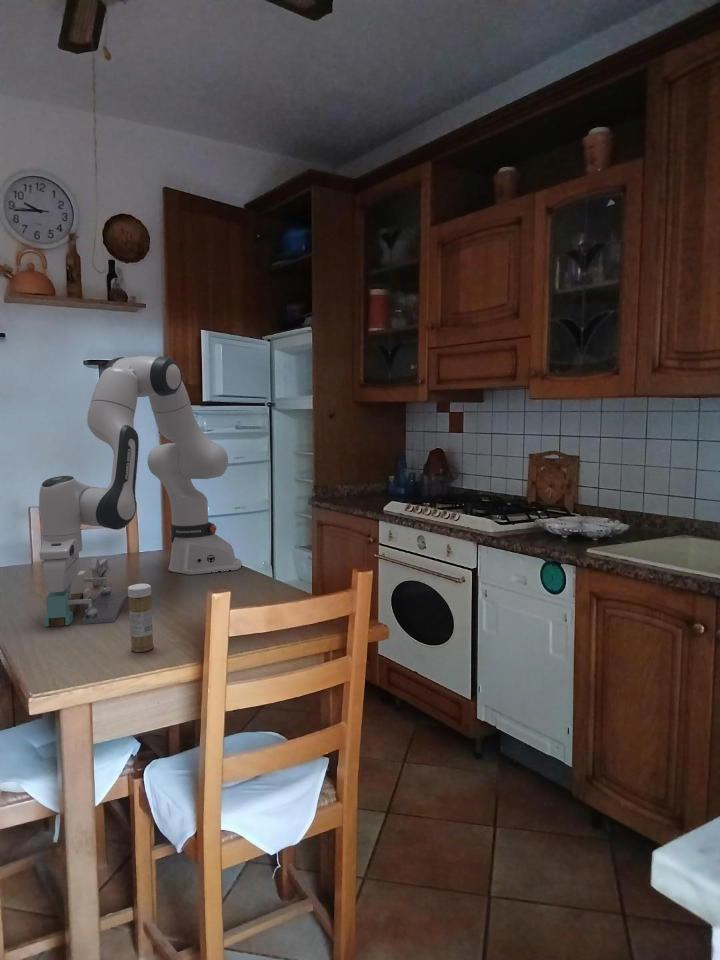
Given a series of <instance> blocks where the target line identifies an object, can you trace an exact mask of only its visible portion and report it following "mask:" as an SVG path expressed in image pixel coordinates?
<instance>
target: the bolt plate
mask: <svg viewBox="0 0 720 960" xmlns="http://www.w3.org/2000/svg"><path fill="white" fill-rule="evenodd" d="M128 597H129V596H128V590H122V591H112V587H111V586H107V587H104V586H100V588H99V594H98V596H96V599H95V600H94V602H92V609H91V610H89V609H88V608H85V610H84V612H85V615H84V616H83V618H82V625H91V623H94V624H105V623H107V622H108V623H115V621H116V620H117V618H118V616H119V614H120V612H121V610H122V608H123V606H124V604H125V602H126V600H127V598H128Z"/></svg>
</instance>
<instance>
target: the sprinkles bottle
mask: <svg viewBox="0 0 720 960" xmlns="http://www.w3.org/2000/svg"><path fill="white" fill-rule="evenodd" d="M127 591H128V596H127V597H128V600H129V601H128V602H129V603H128V605H129V612H128V613H129V626H130V628H129V629H130V632H129V633H130V641H131V647H130V649H131V651H132V652H134V653H144V652H149V651H150V650H152V649H154V637H153V636H154V635H153V633H154V631H153V630H154V628H153V611H152V610H153V609H152V600H151V596H152V586H151V585H150V584H148V583H137V584H132V585H130V586H128V587H127Z"/></svg>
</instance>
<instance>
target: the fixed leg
mask: <svg viewBox="0 0 720 960" xmlns="http://www.w3.org/2000/svg"><path fill="white" fill-rule="evenodd" d="M107 580H108V578H107V577H100V578H93V577H90V578H88V577H87V571H86V570H80V571H79V573H78V574H77V575H76V577H75V578H74V579H73V580H72V586H71V594H79V593H83V599H90V597H91V594H90V588H88V586H87V585H88V584H87V583H92V582H98V581H100V582H103V587H107V585H108V582H107Z"/></svg>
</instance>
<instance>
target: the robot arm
mask: <svg viewBox="0 0 720 960" xmlns="http://www.w3.org/2000/svg"><path fill="white" fill-rule="evenodd" d="M182 378H183V374H182V371H181V367H180V366H179V364H178V363H177V362H176V361H175V360H174V359H172V358H170V357H165V356H151V355H150V356H149V355H138V356H128V357H123V356H120V357H115V358H112V359H111V360H109V361H108V362H107V363H106V365H105V366H104V368H103V371H102V373H101V375H100V377H99V378H98V381H97V382H96V385H95V387H94V391H93V392H92V396H91V399H90V403H89V407H88V412H87V419H86V421H87V426H88V428H89V430H90V432H91V434H93V436H95V437H96V438H98V439H99V440H100V441H102V442H104V443H106V444H107V445H109V446H110V448H111V449H112V453H113V461H112V462H113V463H112V468H111V469H112V471H111V480H110V484H109V485H108V486H107V487H100V486H99V487H97V486H90V485H86V484H84V483H81V482H79V481H78V480H76V478H75V477H74V476H72V475H58V476H54V477H50V478H48V479H46V480H44V481H43V482H42V483H41V484H40V485H41V486H40V489H39V494H38V499H39V500H38V507H39V509H38V511H39V517H40V520H41V523H42V525H41V526H42V527H41V531H40V537H41V539H40V540H41V547H40V549H39V560H40V561H42V569H43V579H44V584H45V585H44V586H45V588H46V591H47V593H48V594H49V593H52V592H66V591H69V600H70V598H71V586H72V580H73V579H74V578H75V577H76V575H77V574H78V573H79V571H81V562H80V561H81V560H80V554H79V552H81V551H82V550H83V538H82V537H83V536H82V528H81V526H82V525H85V526H89V527H90V526H92V527H102V528H106V529H111V530H122V529H123V528H125V527H127V526H128V525H129V524H130V523H131V522H132V520H133V519H134V517H135V515H136V511H137V498H136V485H137V484H136V482H137V473H138V463H139V448H140V446H139V445H140V439H139V434H138V432H137V430H136V429H135V425H134V424H135V423H134V421H135V420H134V419H135V414H136V410H137V404H138V398H144V397H148V399H149V403H150V407H151V411H152V414H153V416H154V419H155V422H156V428H157V430H158V432H159V433H160V434H161V435H162V437H163V438H165V439H167V440H170V441H171V443H170V442H168V443H164V444H163V443H162V444H159V445H155V446H153V447H152V448H151V449H150V451H149V452H148V455H147V466H148V469H149V471H150V472H151V474H152V475H153V476H155V477H156V478H157V479H158V481H160V482H161V484H162V485H163V487H164V488H165V490H166V493H167V496H168V499H169V504H170V513H171V523H170V529H169V532H170V533H169V534H170V542H171V554H170V559H169V564H168V568H167V570H168V571H170V572H172V573H178V574H179V573H180V574H184V575H191V576H192V575H200V574H209V573H211V572H212V573H219V572H218V571H221V572H228V571H229V570H231V571H237V570H239V569H241V568H242V567H243V562H242V560H241V559H240V558H238V557H236V556H235V551H234V548H233V546H232V544H230V542H228V541H226V540H225V539H223V538H222V537H221V536H219V535H217V534H216V531H217V526H216V525H215V524H214V523H212V522H210V521H209V507H208V506H209V502H208V498H207V496H206V495H205V494H204V493H203V492H201V491H200V490H198V489H197V488H196V487H195V486H194V484H193V482H192V480H209V479H215V478H220V477H222V476H223V475H224V474H225V472H226V471H227V469H228V465H229V456H228V454H227V451H226V450H225V449H224V447H222V446H221V445H219V444H217V443H216V442H214V441H213V440H212V439H211V438H210V437H209V436H208V435H207V434H205V432H204V431H203V429H202V428H201V427H200V425H199V423H198V421H197V420H196V419H197V418H196V416H195V413H194V410H193V407H192V405H191V401H190V400H191V399H190V397H189V393H188V391H187V388H186V386H185V384H184V382H183V380H182ZM241 566H242V567H241ZM229 572H230V571H229Z"/></svg>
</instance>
